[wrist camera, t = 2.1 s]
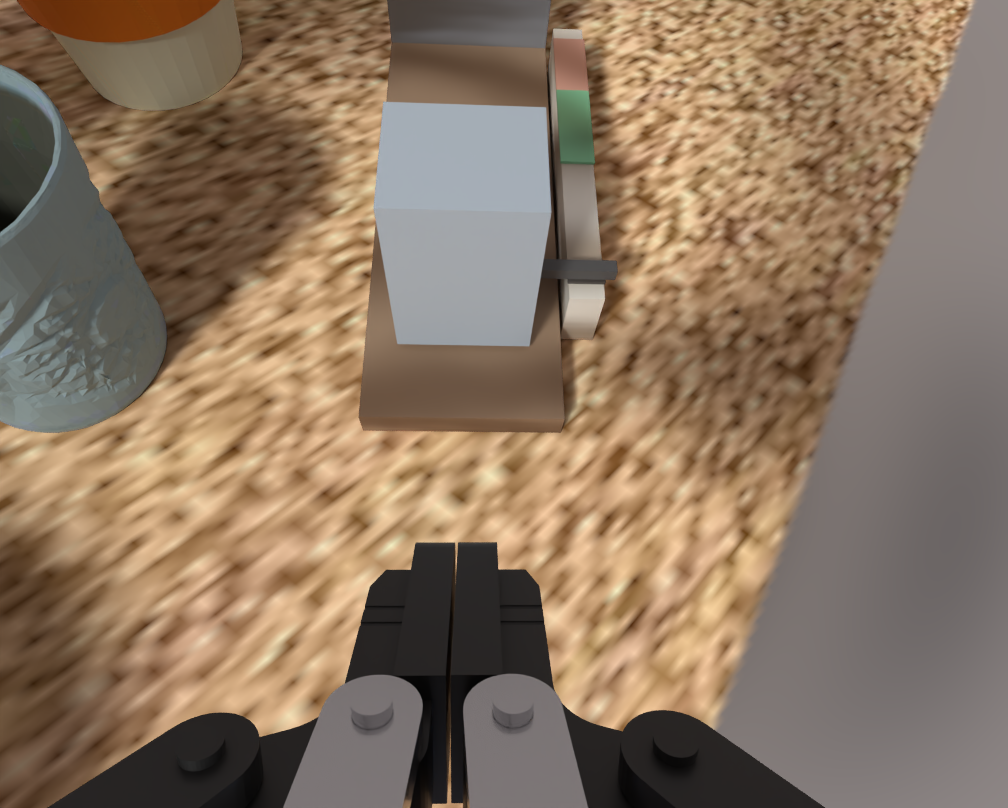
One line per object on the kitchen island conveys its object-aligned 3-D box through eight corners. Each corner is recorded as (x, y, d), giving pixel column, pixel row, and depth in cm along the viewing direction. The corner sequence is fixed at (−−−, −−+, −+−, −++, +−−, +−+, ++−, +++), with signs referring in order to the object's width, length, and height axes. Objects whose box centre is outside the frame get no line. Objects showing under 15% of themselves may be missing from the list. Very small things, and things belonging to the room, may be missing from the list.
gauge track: (600, 433, 32) (665, 288, 22) (363, 430, 31) (313, 280, 21) (569, 27, 44) (601, -191, 34) (397, 20, 43) (376, -203, 33)
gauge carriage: (609, 347, 32) (658, 215, 24) (397, 344, 31) (373, 207, 23) (597, 209, 35) (636, 53, 27) (406, 204, 35) (388, 44, 27)
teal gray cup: (-64, 318, 33) (-323, 113, 22) (145, 231, 36) (5, 12, 25) (1, 491, 29) (-270, 350, 19) (226, 381, 32) (105, 202, 21)
